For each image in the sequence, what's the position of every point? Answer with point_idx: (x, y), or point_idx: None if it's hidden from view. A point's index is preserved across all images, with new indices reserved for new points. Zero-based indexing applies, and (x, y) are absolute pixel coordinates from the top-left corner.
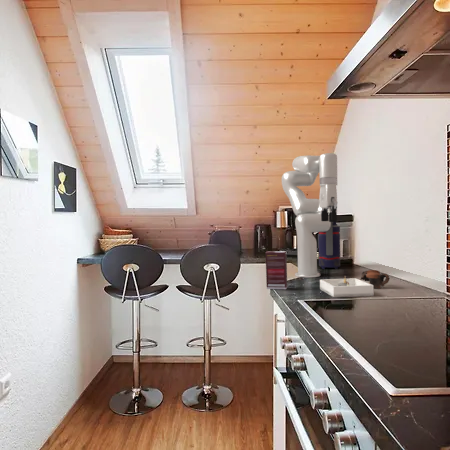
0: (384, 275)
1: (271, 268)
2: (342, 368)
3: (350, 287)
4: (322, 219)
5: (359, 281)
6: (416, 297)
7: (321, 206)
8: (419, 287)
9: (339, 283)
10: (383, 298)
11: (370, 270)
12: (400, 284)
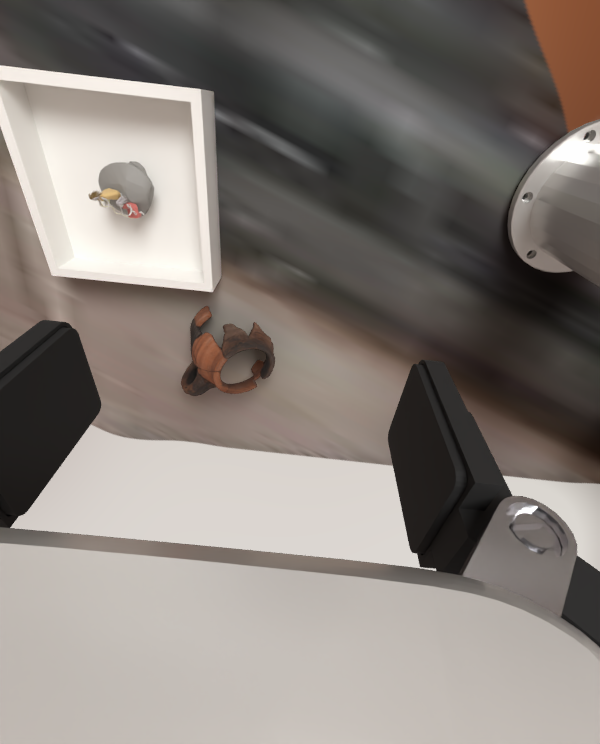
0: (190, 384)
1: None
2: None
3: (19, 168)
4: (417, 381)
5: (160, 277)
6: None
7: (253, 614)
8: (201, 435)
9: (133, 173)
10: (34, 269)
11: (215, 365)
12: (251, 421)
